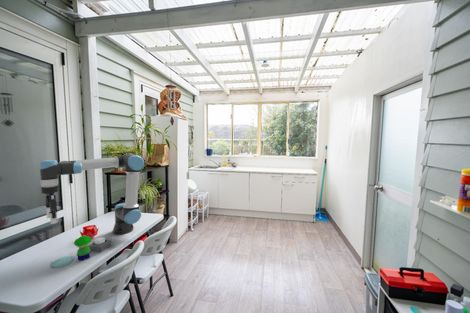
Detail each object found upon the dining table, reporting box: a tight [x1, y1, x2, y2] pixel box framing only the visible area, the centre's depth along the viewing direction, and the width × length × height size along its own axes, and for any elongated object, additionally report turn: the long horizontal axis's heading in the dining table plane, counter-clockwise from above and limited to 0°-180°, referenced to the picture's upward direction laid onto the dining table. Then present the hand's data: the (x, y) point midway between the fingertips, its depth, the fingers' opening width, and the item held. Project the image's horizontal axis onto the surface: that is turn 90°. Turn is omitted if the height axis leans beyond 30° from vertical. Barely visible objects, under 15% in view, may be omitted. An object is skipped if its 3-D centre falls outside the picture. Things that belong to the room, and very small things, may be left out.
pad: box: [50, 255, 76, 269], centre depth 120 cm, size 11×11×1 cm
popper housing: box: [88, 238, 113, 253], centre depth 136 cm, size 10×10×4 cm
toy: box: [73, 235, 93, 262], centre depth 123 cm, size 9×9×15 cm
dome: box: [94, 237, 106, 245], centre depth 136 cm, size 6×6×3 cm
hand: (51, 220), depth 118 cm, fingers open, 13 cm apart
